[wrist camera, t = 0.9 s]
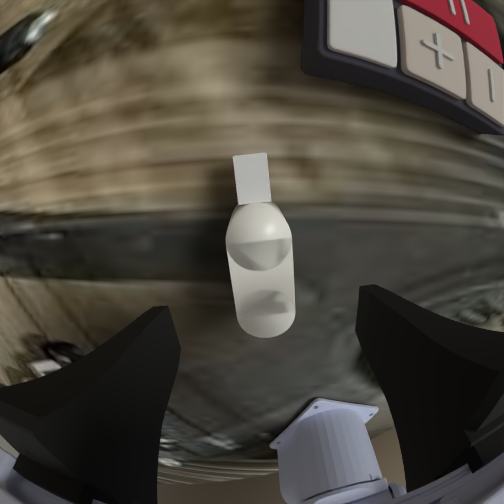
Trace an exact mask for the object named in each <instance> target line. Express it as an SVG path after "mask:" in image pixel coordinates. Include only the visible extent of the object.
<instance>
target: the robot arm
mask: <svg viewBox="0 0 504 504" xmlns="http://www.w3.org/2000/svg"><path fill="white" fill-rule="evenodd" d="M355 331H356V334H357V337H358V340H359V343H360V346H361V348H362V351H363V353H364V355H365V357H366V359H367V361H368V363H369V365H370V367H371V369H372V371H373V373H374V375H375V377H376V379H377V381H378V383H379V385H380V387H381V389H382V391H383V393H384V395H385V398H386V400H387V402H388V405H389V408H390V412H391V415H392V418H393V421H394V425H395V428H396V432H397V435H398V439H399V444H400V449H401V454H402V459H403V464H404V471H405V479H406V490H407V492H406V490H405V489H404V487H403V486H402V485H399V484H397V483H391V484H389V485H388V484H387V481H386V478H382V475H381V472H380V469H379V466H378V463H377V460H376V456H375V453H374V451H373V448H372V445H371V442H370V439H369V436H368V433H367V430H366V427H365V423H366V422H367V421H368V420H369V419H370V418H372V417H373V416H374V415H375V414H376V413H377V412H378V410H379V409H378V407H377V406H368V405H360V404H353V403H346V402H340V401H334V400H328V399H322V398H317V399H315V400H313V401H312V402H311V404H310V405H309V406H308V407H307V408H306V409H305V410H304V411H303V412H302V413H301V414H300V415H299V416H298V417H297V418H296V419H295V420H294V421H293V422H292V423H291V424H290V425H289V426H288V427H287V428H286V429H285V430H284V431H283V432H282V433H281V434H280V435H279V436H278V437H277V438H276V439H275V440H273V441H272V442H271V443H270V448H272V449H277V452H278V465H279V477H280V489H281V494H282V496H283V498H284V500H285V501H286V502H287V503H288V504H504V332H498V331H492V330H486V329H482V328H478V327H474V326H470V325H466V324H463V323H460V322H457V321H454V320H451V319H448V318H445V317H443V316H440V315H438V314H436V313H433V312H431V311H429V310H427V309H424V308H422V307H420V306H418V305H416V304H414V303H412V302H410V301H408V300H406V299H404V298H402V297H400V296H398V295H396V294H394V293H392V292H390V291H388V290H386V289H384V288H382V287H380V286H377V285H375V284H373V285H366V286H360V288H359V300H358V310H357V319H356V328H355ZM180 350H181V347H180V344H179V341H178V337H177V334H176V331H175V328H174V325H173V321H172V318H171V314H170V311H169V308H168V306H157V307H152V308H151V309H149V310H148V311H146V312H145V313H143V314H142V315H141V316H139V317H138V318H137V319H136V320H134V321H133V322H132V323H131V324H129V325H128V326H127V327H125V328H124V329H123V330H122V331H120V332H119V333H118V334H116V335H115V336H114V337H112V338H111V339H109V340H108V341H107V342H105V343H104V344H103V345H101V346H100V347H98V348H97V349H95V350H94V351H92V352H91V353H89V354H87V355H86V356H84V357H82V358H81V359H79V360H77V361H75V362H73V363H71V364H69V365H67V366H65V367H63V368H61V369H59V370H57V371H55V372H52V373H50V374H47V375H45V376H42V377H40V378H37V379H34V380H31V381H27V382H24V383H20V384H15V385H11V386H7V387H1V388H0V435H1V436H2V437H3V438H4V439H5V440H6V441H7V442H8V443H9V444H10V445H11V446H12V447H13V448H14V449H15V450H16V451H18V452H19V453H20V454H19V456H18V458H15V457H14V456H13V455H11V454H10V453H8V452H7V451H5V450H4V449H2V448H1V447H0V504H157V469H158V455H159V444H160V437H161V430H162V423H163V419H164V415H165V411H166V408H167V404H168V401H169V397H170V394H171V390H172V387H173V384H174V380H175V377H176V373H177V370H178V364H179V357H180Z"/></svg>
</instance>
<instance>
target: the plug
mask: <svg viewBox="0 0 504 504" xmlns="http://www.w3.org/2000/svg"><path fill="white" fill-rule="evenodd" d="M233 163H234V172H235V180H236V189H237V197H238V204H237V206H236V207H235V208H234V210H233V212H232V215H231V219H230V222H229V226H228V229H227V233H226V248H227V255H228V262H229V269H230V275H231V282H232V288H233V295H234V301H235V307H236V314H237V319H238V322H239V324H240V326H241V327H242V329H243V330H244V331H246V332H247V333H249V334H250V335H253V336H256V337H260V338H270V337H274V336H277V335H280V334H282V333H283V332H285V331H286V330H287V329H288V328H289V327H290V326H291V325H292V323H293V321H294V318H295V292H294V270H293V252H292V236H291V231H290V228H289V226H288V224H287V222H286V220H285V218H284V217H283V215H282V213H281V211H280V209H279V207H278V206H277V205H276V204H275V203H274V202H273V201H271V193H270V183H269V173H268V163H267V153H257V154H247V155H238V156H233Z"/></svg>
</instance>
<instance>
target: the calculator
mask: <svg viewBox="0 0 504 504" xmlns="http://www.w3.org/2000/svg"><path fill="white" fill-rule="evenodd" d="M501 64H503V57H502V52H501V47H500V42H499V38H498V33H497V29H496V25H495V22H494V19H493V18H492V17H491V16H490V15H489V14H488V13H487V12H486V11H484V10H483V9H482V8H481V7H480V6H478V5H477V4H476V3H474V2H473V1H472V0H304V21H303V40H302V57H301V69H302V71H303V72H304V73H305V74H308V75H312V76H318V77H323V78H328V79H333V80H337V81H342V82H346V83H350V84H354V85H358V86H362V87H366V88H371V89H377V90H381V91H384V92H387V93H390V94H393V95H395V96H398V97H401V98H404V99H406V100H409V101H411V102H414V103H416V104H419V105H421V106H424V107H426V108H428V109H431V110H433V111H435V112H438V113H440V114H442V115H444V116H447V117H449V118H451V119H453V120H455V121H457V122H459V123H461V124H463V125H465V126H467V127H469V128H471V129H473V130H475V131H477V132H479V133H481V134H493V135H504V71H503V69H502V66H501Z"/></svg>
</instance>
